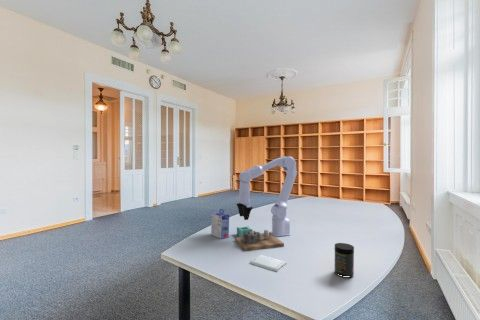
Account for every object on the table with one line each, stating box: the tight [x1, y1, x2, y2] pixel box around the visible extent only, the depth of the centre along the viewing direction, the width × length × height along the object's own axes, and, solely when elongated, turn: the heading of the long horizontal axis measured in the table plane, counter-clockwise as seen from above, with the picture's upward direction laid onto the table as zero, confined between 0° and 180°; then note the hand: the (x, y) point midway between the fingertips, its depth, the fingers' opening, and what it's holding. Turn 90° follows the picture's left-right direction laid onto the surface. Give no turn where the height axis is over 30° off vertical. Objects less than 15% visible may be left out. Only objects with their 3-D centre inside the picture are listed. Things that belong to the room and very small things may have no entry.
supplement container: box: [333, 242, 355, 277], centre depth 91 cm, size 7×7×10 cm
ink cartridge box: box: [210, 208, 230, 240], centre depth 133 cm, size 10×6×14 cm, turn 41°
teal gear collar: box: [236, 225, 254, 237], centre depth 134 cm, size 7×7×4 cm
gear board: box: [235, 229, 285, 252], centre depth 122 cm, size 20×15×6 cm
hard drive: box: [249, 254, 288, 272], centre depth 99 cm, size 2×8×12 cm
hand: (243, 217), depth 134 cm, fingers open, 7 cm apart
